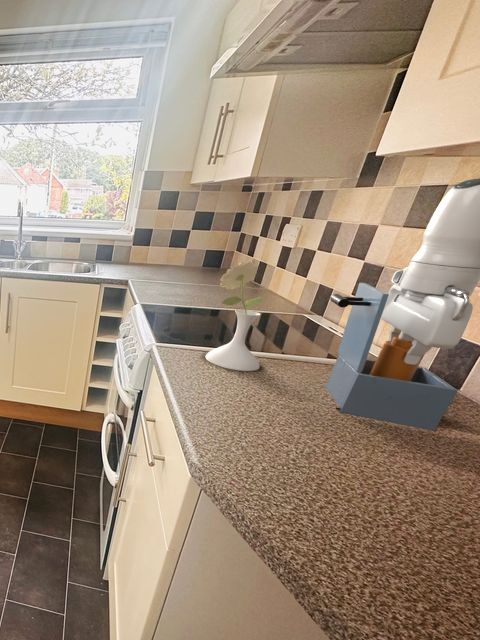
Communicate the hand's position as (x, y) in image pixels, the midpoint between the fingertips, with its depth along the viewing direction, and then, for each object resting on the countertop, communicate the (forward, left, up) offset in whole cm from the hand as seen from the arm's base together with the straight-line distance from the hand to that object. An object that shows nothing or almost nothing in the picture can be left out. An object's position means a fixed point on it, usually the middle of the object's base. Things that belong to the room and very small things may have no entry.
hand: (400, 356), depth 77 cm
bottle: (0, 0, -11) cm, 11 cm away
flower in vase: (+25, -12, -12) cm, 30 cm away
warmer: (0, 0, -12) cm, 12 cm away
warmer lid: (+7, 0, +5) cm, 8 cm away
